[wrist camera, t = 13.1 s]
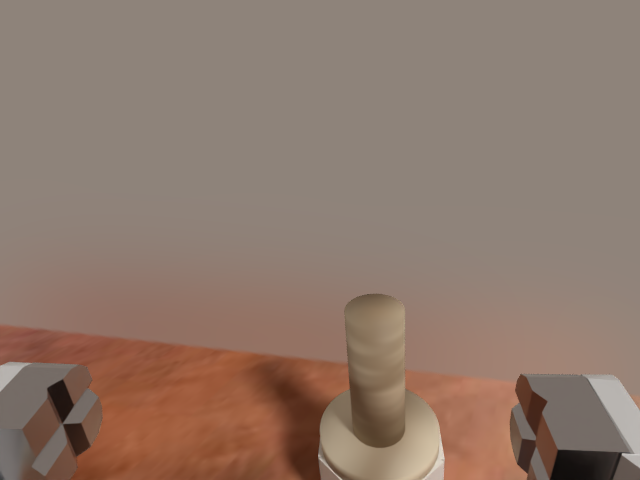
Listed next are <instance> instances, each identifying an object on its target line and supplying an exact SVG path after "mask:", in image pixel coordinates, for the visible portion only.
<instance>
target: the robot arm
mask: <svg viewBox="0 0 640 480" xmlns="http://www.w3.org/2000/svg"><path fill="white" fill-rule="evenodd" d="M91 382H92V378H91V376H90V373H89V371H88V369H87V367H85V366H82V365H74V364H52V363H19V362H9V363H6V364H4V365H1V366H0V480H70V479H71V477H72V476H73V474H74V473H75V471H76V470H77V468H78V466H77V456H78V455H80V454H81V453H83V452H84V451H85V450H87V449H88V448H90V447H91V445H92V444H93V442H94V440H95V438H96V437H97V435H98V433H99V429H100V426H101V422H102V405H101V402H100V399H99V397H98V396H97V395H96V394H94V393H93V392H92V391H91V390H90V389H88V388H89V386H90V384H91ZM515 391H516V394H517V397H518V399H519V402H520V403H518V404H517V405H516V406H515V407H514V408H512V411H511V418H510V437H511V443H512V448H513V452H514V456H515V459H516V462H517V464H518V465H519V466H520V467H521V468H522V469H523V470H524V471H525V472H526V473H527V474H528V476H527V480H640V410H639V409H638V407H637V406H636V404H635V403H634V401H633V400H632V398H631V397H630V395H629V394H628V392H627V391H626V390H625V388H624V387H623V385H622V384H621V382H620V381H619V379H617V378H616V377H615V376H613V375H584V374H583V375H582V374H581V375H560V374H559V375H556V374H520V376H519V378H518V380H517V384H516V389H515Z"/></svg>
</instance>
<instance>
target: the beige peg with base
mask: <svg viewBox="0 0 640 480" xmlns="http://www.w3.org/2000/svg"><path fill="white" fill-rule="evenodd" d="M344 314H345V328H346V342H347V356H348V370H349V383H350V389H349V390H347V391H345V392H343V393H341V394H340V395H338V396H337V397H336V398H335V399H334V400H333V401H332V402H331V403H330V404H329V405H328V406H327V408H326V410H325V411H324V413H323V416H322V418H321V423H320V437H321V446H322V451H323V455H324V458H325V460H326V462H327V464H328V465H329V467H330V468H331V469H332V470H333V472H334V473H335V474H336V475H337V476H339V477H340V478H341V479H342V480H422V479H423V478H425V477H426V476H427V475H428V473H429V472H430V471H431V470H432V468H433V467H434V465H435V463H436V461H437V458H438V454H439V443H440V428H439V424H438V420H437V418H436V415H435V414H434V412H433V410H432V409H431V408H430V406H429V405H428V404H427V403H426V402H425V401H424V400H423V399H422V398H420V397H419V396H418V395H416V394H414V393H413V392H411V391H409V390H407V389H405V309H404V306H403V305H402V303H401V302H400V301H399V300H397V299H396V298H393V297H391V296H388V295H383V294H367V295H362V296H359V297H356V298H354V299H353V300H351V301H350V302H349V303H348V304H347V305H346V307H345V310H344Z"/></svg>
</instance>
